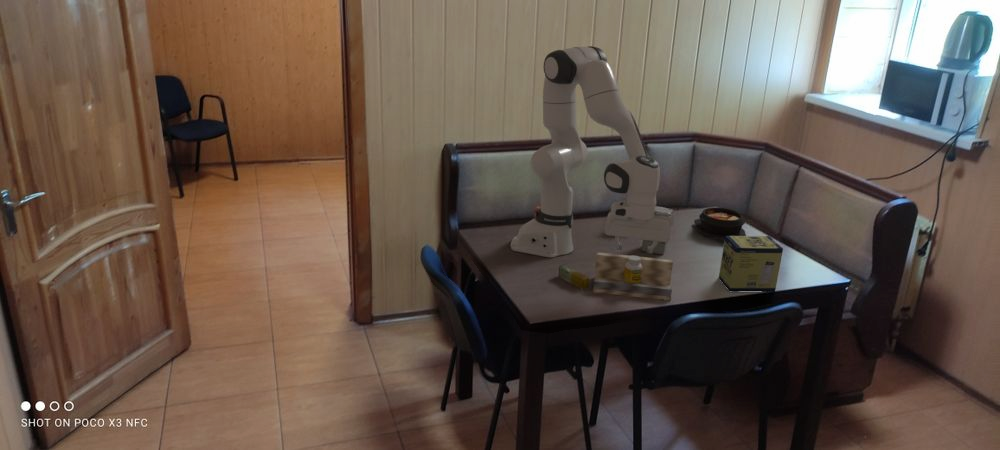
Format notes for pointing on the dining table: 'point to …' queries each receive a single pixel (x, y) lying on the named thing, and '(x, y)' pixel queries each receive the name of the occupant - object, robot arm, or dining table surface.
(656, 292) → the cleat board
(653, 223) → the robot arm
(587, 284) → the medication box
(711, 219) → the casserole
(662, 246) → the skincare box
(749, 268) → the protein box
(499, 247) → the dining table surface
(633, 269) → the supplement bottle
